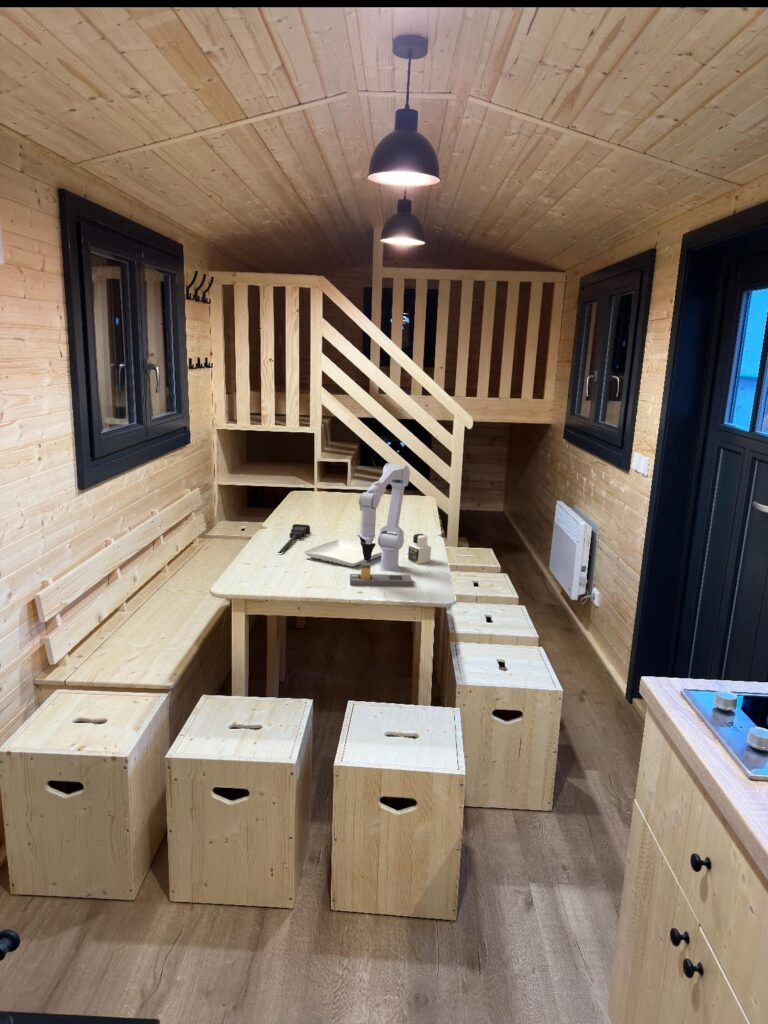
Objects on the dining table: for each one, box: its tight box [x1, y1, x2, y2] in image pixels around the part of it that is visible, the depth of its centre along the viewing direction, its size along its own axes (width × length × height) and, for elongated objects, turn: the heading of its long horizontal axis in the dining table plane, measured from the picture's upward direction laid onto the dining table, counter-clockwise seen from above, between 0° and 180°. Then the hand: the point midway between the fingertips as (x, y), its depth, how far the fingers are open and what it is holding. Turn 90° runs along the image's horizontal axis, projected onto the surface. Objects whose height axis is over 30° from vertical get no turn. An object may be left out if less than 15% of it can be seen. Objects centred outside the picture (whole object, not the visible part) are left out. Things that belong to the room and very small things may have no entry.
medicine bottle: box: [407, 533, 432, 565], centre depth 308 cm, size 7×7×12 cm
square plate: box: [302, 539, 382, 568], centre depth 311 cm, size 27×27×4 cm
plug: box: [360, 562, 372, 580], centre depth 277 cm, size 4×4×8 cm
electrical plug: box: [278, 523, 311, 553], centre depth 331 cm, size 9×42×5 cm, turn 172°
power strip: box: [349, 573, 413, 587], centre depth 278 cm, size 8×24×3 cm, turn 94°
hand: (366, 557), depth 275 cm, fingers open, 7 cm apart
